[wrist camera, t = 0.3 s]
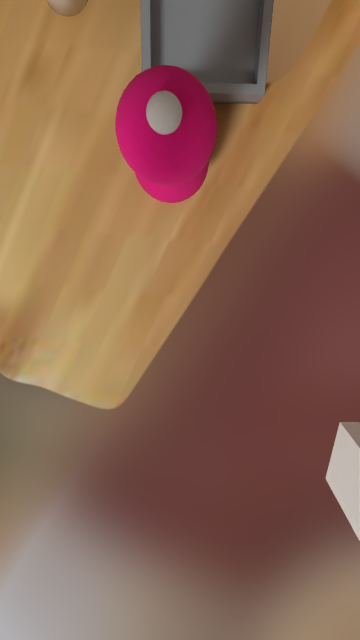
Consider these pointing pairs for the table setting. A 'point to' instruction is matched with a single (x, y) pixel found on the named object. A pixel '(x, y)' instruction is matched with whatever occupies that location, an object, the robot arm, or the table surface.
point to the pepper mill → (167, 131)
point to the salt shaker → (67, 6)
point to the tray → (211, 43)
